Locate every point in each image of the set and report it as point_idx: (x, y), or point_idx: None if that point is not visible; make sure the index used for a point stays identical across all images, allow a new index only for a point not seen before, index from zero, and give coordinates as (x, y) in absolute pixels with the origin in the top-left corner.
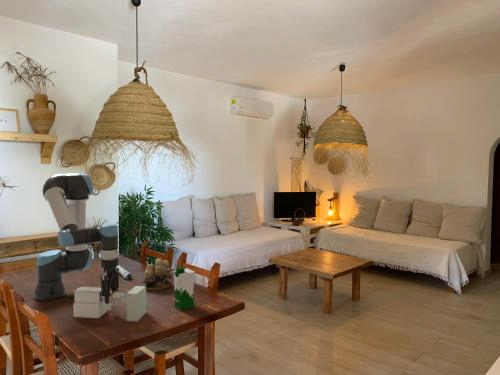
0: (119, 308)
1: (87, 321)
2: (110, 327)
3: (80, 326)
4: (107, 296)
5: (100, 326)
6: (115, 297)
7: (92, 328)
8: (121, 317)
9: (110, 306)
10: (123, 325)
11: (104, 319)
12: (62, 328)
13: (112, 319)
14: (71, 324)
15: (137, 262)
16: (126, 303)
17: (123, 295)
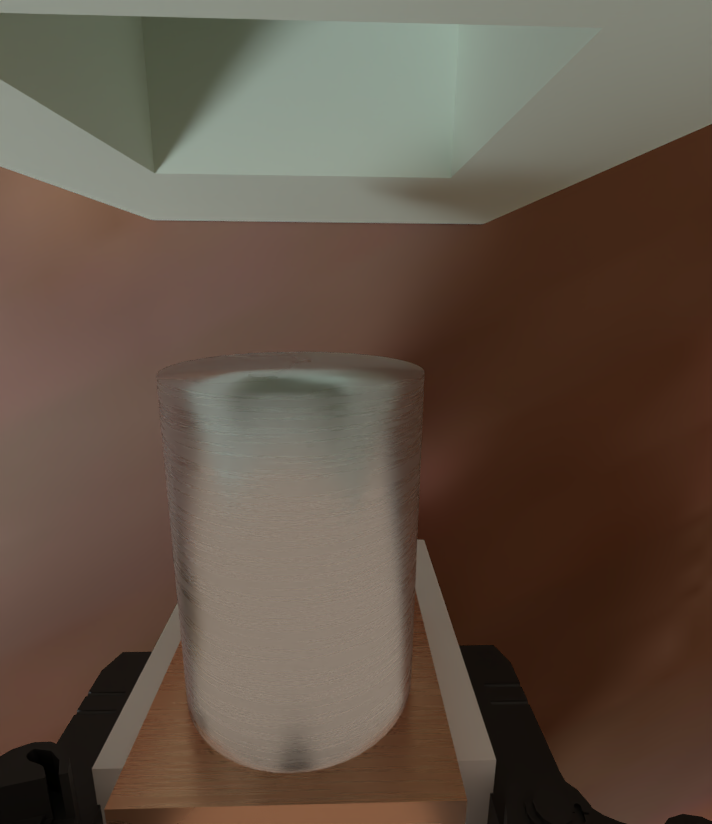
0: (88, 518)
1: (523, 684)
2: (692, 354)
3: (651, 686)
4: (591, 812)
5: (658, 488)
6: (411, 608)
7: (708, 547)
8: (375, 354)
9: (432, 574)
10: (636, 203)
11: (457, 537)
12: (691, 809)
13: (450, 443)
14: (600, 785)
15: None
16: (632, 157)
17: (400, 390)
